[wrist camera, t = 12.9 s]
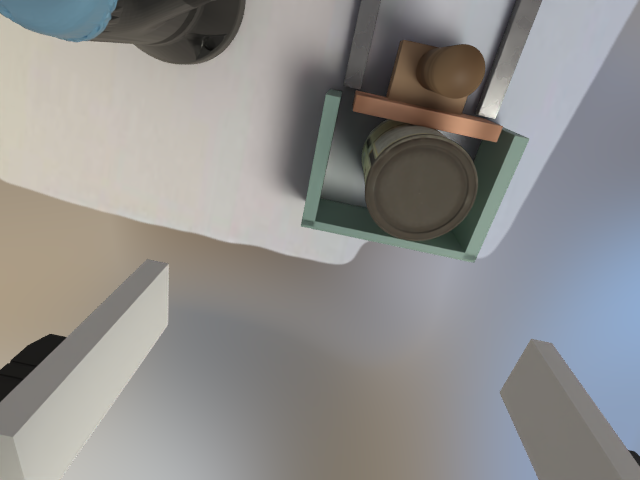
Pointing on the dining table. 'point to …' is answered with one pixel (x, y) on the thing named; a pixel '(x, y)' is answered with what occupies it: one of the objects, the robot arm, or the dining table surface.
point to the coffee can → (416, 180)
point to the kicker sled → (432, 90)
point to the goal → (459, 243)
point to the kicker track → (501, 68)
